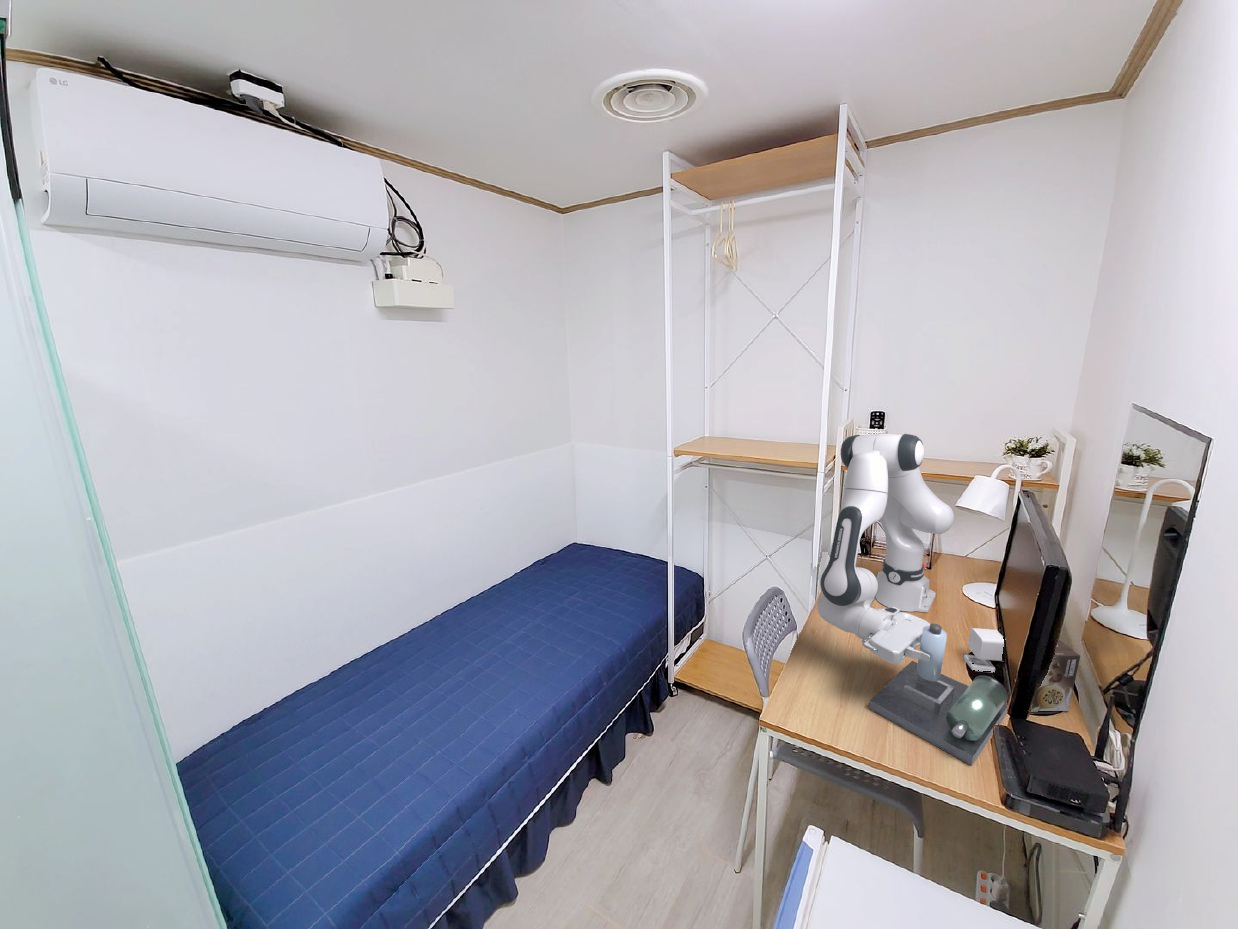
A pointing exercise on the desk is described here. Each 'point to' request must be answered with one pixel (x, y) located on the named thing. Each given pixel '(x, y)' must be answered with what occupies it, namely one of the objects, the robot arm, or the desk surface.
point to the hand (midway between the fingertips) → (935, 653)
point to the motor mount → (944, 710)
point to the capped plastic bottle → (932, 652)
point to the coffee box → (1058, 681)
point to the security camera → (984, 649)
